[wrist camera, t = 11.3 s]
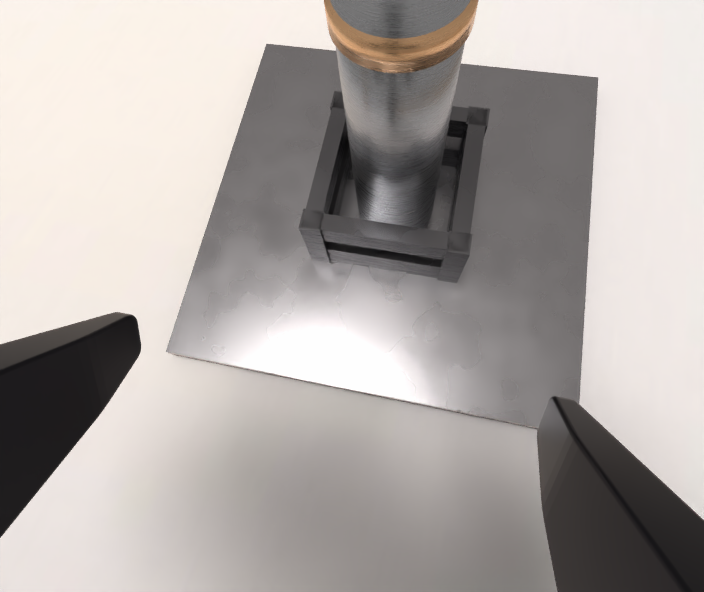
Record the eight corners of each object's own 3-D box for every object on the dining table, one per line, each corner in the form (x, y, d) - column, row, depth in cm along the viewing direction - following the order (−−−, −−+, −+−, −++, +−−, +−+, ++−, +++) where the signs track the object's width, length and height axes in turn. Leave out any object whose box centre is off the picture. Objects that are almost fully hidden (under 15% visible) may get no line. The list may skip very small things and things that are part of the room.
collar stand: (570, 435, 21) (618, 434, 16) (173, 354, 23) (124, 335, 19) (591, 87, 26) (631, 20, 22) (269, 54, 29) (249, -13, 25)
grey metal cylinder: (383, 258, 23) (373, 16, 10) (341, 197, 24) (282, -89, 11) (451, 216, 24) (532, -69, 10) (406, 159, 25) (426, -162, 12)
